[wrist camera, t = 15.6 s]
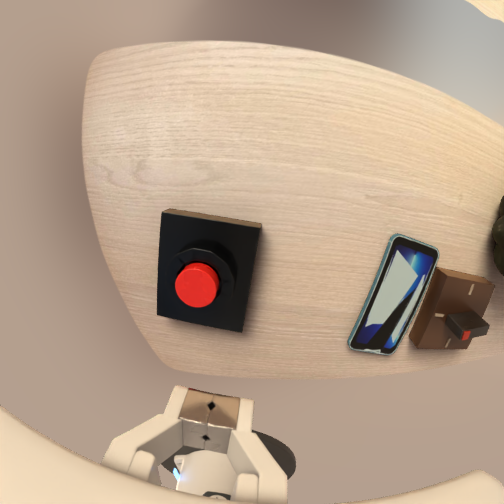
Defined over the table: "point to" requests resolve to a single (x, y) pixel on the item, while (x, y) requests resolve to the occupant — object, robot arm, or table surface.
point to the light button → (197, 285)
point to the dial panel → (449, 308)
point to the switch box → (212, 254)
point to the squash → (499, 239)
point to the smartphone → (394, 295)
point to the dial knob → (466, 325)
